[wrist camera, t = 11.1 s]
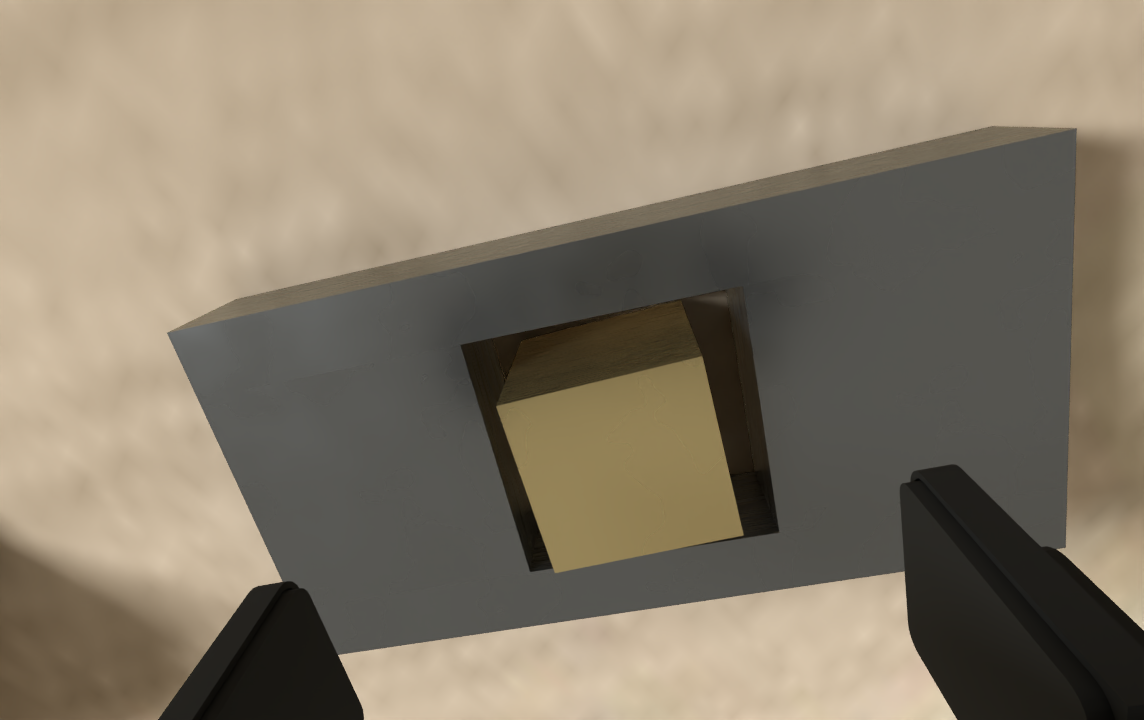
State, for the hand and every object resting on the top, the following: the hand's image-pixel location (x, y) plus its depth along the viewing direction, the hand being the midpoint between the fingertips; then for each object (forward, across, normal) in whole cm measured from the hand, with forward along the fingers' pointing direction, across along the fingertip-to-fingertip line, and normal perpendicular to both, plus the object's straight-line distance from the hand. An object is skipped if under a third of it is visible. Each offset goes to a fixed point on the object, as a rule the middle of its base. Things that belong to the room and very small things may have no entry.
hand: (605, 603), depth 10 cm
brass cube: (+9, 0, 0) cm, 9 cm away
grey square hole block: (+9, 0, 0) cm, 9 cm away
